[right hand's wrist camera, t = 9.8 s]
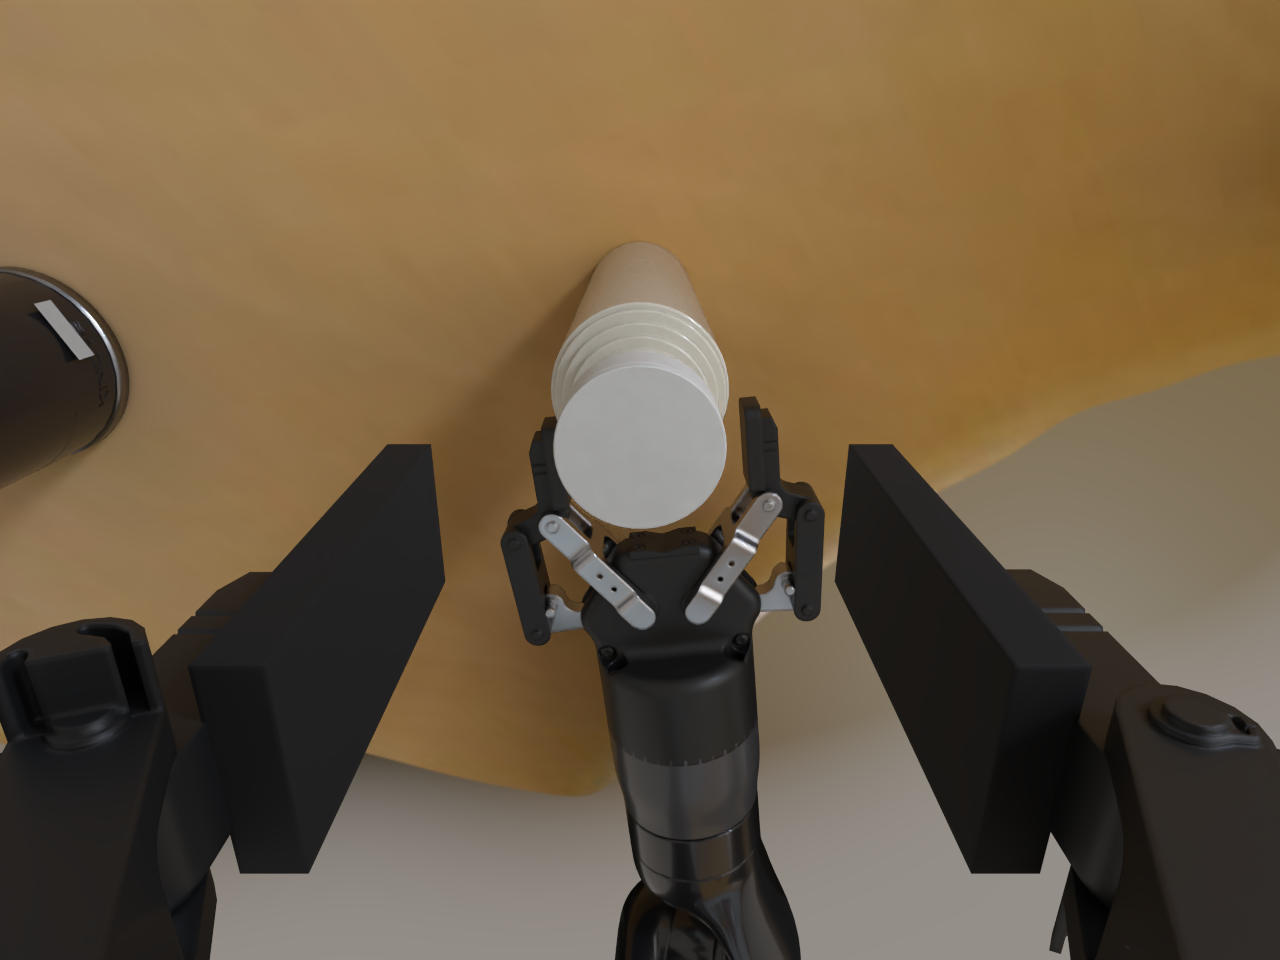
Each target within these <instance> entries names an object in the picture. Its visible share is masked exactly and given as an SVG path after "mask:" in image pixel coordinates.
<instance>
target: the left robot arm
mask: <svg viewBox="0 0 1280 960" xmlns="http://www.w3.org/2000/svg"><path fill="white" fill-rule="evenodd" d="M128 394H129V376H128V369H127V364H126V360H125V357H124V354H123V351H122V349H121V347H120V344H119V342H118V340H117V338H116V336H115V335H114V333H113V331H112V330H111V328H110V326H109V325H108V324H107V322H106V321H105V320H104V318H103V317H102V316H101V315H100V314H99V312H98V311H97V310H96V309H95V308H94V307H93V306H92V305H91V304H90V303H89V302H88V301H87V300H85V299H84V298H83V297H82V296H81V295H79V294H78V293H77V292H75V291H74V290H72V289H71V288H69V287H68V286H66V285H65V284H63V283H61V282H59V281H57V280H55V279H53V278H51V277H49V276H47V275H44V274H42V273H39V272H35V271H32V270H28V269H24V268H17V267H3V266H2V267H0V489H2V488H4V487H6V486H8V485H10V484H12V483H14V482H16V481H18V480H20V479H22V478H24V477H26V476H28V475H30V474H32V473H34V472H36V471H38V470H40V469H42V468H44V467H46V466H48V465H50V464H52V463H54V462H56V461H58V460H60V459H62V458H64V457H66V456H68V455H71V454H74V453H77V452H80V451H82V450H84V449H86V448H88V447H90V446H92V445H94V444H96V443H98V442H99V441H101V440H102V439H104V438H105V437H106V436H107V435H108V434H110V433H111V432H112V430H113V429H114V428H115V427H116V426H117V424H118V423H119V421H120V419H121V417H122V415H123V413H124V411H125V408H126V405H127V400H128ZM739 413H740V429H741V444H742V460H743V474H744V477H745V480H746V483H747V484H746V485H745V487H744V488H743V489H742V491H741V492H740V494H739V495H738V496H737V498H736V499H735V501H734V502H733V504H732V505H731V506H730V507H727V508H725V509H724V511H723V512H722V513H721V515H720V516H719V518H718V519H717V520H716V522H715V523H714V525H713V526H712V528H711V529H710V530H709V532H708V533H707V534H706V533H704V532H700V531H696V527H685V528H678V529H675V530H672V531H669V532H667V533H663V534H661V533H654V532H647V531H644V532H634V533H630V536H629V538H626V539H624V540H623V541H621V542H620V541H618V540H617V539H616V538H615V537H614V536H613V535H612V534H611V533H610V532H609V531H608V530H607V529H606V528H605V527H604V526H602V525H601V524H600V523H599V522H598V521H595V520H594V521H593V520H591V519H590V518H589V517H588V516H586V515H585V514H584V513H583V512H582V511H581V510H580V509H579V508H578V507H577V506H576V505H575V504H574V503H573V502H572V501H571V496H570V495H569V494H568V492H567V490H566V489H565V487H564V486H563V484H562V482H561V480H560V478H559V475H558V472H557V469H556V466H555V460H554V453H553V441H554V433H555V429H556V425H557V419H556V416H555V417H545V419H544V422H543V424H542V427H541V431H536V433H535V435H534V438H533V440H532V444H531V448H530V452H529V455H530V461H531V466H532V473H533V479H534V485H535V490H536V496H537V502H538V503H537V504H536V505H535V506H533V507H531V508H528V509H526V510H524V509H519V510H515V511H514V512H512V513H511V515H510V517H509V520H508V525H507V528H506V531H505V532H504V534H503V536H502V539H501V548H502V552H503V555H504V559H505V563H506V567H507V571H508V574H509V578H510V582H511V586H512V589H513V593H514V597H515V601H516V605H517V608H518V612H519V616H520V620H521V624H522V627H523V631H524V635H525V638H526V640H527V641H528V642H529V643H531V644H533V645H537V646H540V645H544V644H546V643H547V642H548V641H549V639H550V636H551V633H555V632H561V631H568V630H575V629H582V628H584V629H585V631H586V632H587V633H588V634H589V635H590V636H591V638H592V639H593V641H594V643H595V646H596V649H597V656H598V662H599V669H600V675H601V682H602V688H603V695H604V702H605V708H606V714H607V721H608V727H609V734H610V740H611V747H612V754H613V760H614V765H615V770H616V774H617V777H618V781H619V783H620V786H621V789H622V792H623V796H624V800H625V807H626V813H627V820H628V827H629V834H630V840H631V846H632V852H633V858H634V862H635V866H636V869H637V871H638V873H639V876H640V878H641V881H640V882H639V883H637V885H636V886H635V887H634V888H633V889H632V890H631V892H630V893H629V895H628V897H627V899H626V901H625V903H624V906H623V909H622V912H621V917H620V923H619V928H618V937H617V945H616V955H615V960H801V955H800V945H799V938H798V933H797V929H796V924H795V920H794V917H793V914H792V911H791V908H790V905H789V903H788V900H787V897H786V895H785V893H784V891H783V889H782V886H781V884H780V882H779V880H778V878H777V876H776V874H775V872H774V869H773V867H772V865H771V862H770V860H769V857H768V855H767V852H766V849H765V847H764V845H763V842H762V840H761V835H760V823H759V808H758V793H757V777H758V769H759V733H758V717H757V701H756V687H755V671H754V656H753V641H752V629H753V625H754V622H755V620H756V618H757V617H758V615H759V613H760V612H764V611H788V610H793V611H794V614H795V616H796V617H797V618H798V619H799V620H802V621H811V620H813V619H815V618H816V617H817V616H818V615H819V613H820V608H821V586H822V563H823V540H824V518H825V513H824V510H823V508H822V506H821V504H820V502H819V500H818V498H817V496H816V494H815V493H814V491H813V489H812V487H811V486H810V485H809V484H808V483H805V482H797V483H795V484H794V483H790V482H786V481H783V480H782V479H780V471H779V451H778V428H777V426H776V424H775V422H774V420H773V418H772V416H771V414H770V412H769V411H768V409H767V408H764V409H760V405H759V403H758V401H757V399H756V397H755V396H753V397H744V398H739ZM776 517H781V518H786V519H787V528H786V563H784V562H780V563H778V564H777V565H776V566H775V567H774V568H773V570H772V573H771V577H770V579H769V580H768V581H767V582H766V583H764V584H762V585H757V584H756V582H755V581H754V579H753V578H752V577H751V576H750V575H749V574H748V573H747V572H746V571H745V570H744V568H745V567H746V566H747V564H748V563H749V562H750V560H751V559H752V558H753V556H754V555H755V553H756V551H757V548H758V543H759V541H760V539H761V538H762V537H763V535H764V534H765V533H766V531H767V530H768V528H769V527H770V526H771V524H772V523H773V522H774V520H775V519H776ZM546 539H547V540H548V541H549V542H550V543H551V544H552V545H554V546H555V547H556V548H557V549H558V550H559V551H560V552H561V553H562V554H563V555H565V556H566V557H567V558H568V559H569V561H570V562H571V565H572V567H573V569H574V570H575V571H576V572H577V573H578V574H579V575H580V576H581V577H582V578H583V579H584V580H585V581H586V582H588V583H589V584H590V587H589V589H588V590H587V592H586V593H585V595H584V597H583V600H582V602H575V601H572V600H570V599H569V598H568V597H567V595H566V593H565V591H564V589H563V588H561V587H560V586H559V585H557V584H553V585H550V581H549V577H548V573H547V569H546V565H545V561H544V557H543V553H542V549H541V544H540V542H541V541H543V540H546Z"/></svg>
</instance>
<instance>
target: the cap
mask: <svg viewBox="0 0 1280 960" xmlns="http://www.w3.org/2000/svg"><path fill="white" fill-rule="evenodd" d="M726 450H727V443H726V434H725V429H724V425H723V422H722V419H721V416H720V413H719V409H718V406H717V404H716V401H715V398H714V396H713V394H712V393H711V391H710V389H709V387H708V386H707V385H706V383H705V382H704V381H703V379H702V378H701V377H700V376H699V375H698V374H697V373H696V372H695V371H693V370H692V369H691V368H690V367H688V366H687V365H685V364H684V363H682V362H680V361H679V360H677V359H674V358H672V357H670V356H667V355H663V354H660V353H655V352H648V351H632V352H624V353H620V354H616V355H613V356H610V357H608V358H605V359H603V360H601V361H600V362H598V363H596V364H594V365H593V366H592V367H590V368H589V369H588V370H586V371H585V372H584V373H583V374H582V375H581V376H580V377H579V378H578V379H577V381H576V382H575V383H574V384H573V386H572V387H571V389H570V391H569V392H568V394H567V396H566V398H565V401H564V403H563V406H562V409H561V412H560V415H559V418H558V421H557V425H556V429H555V433H554V441H553V453H554V460H555V466H556V469H557V472H558V475H559V478H560V480H561V482H562V484H563V486H564V487H565V489H566V490H567V492H568V494H569V495H570V496H571V497H572V498H573V500H574V501H575V502H576V503H577V504H578V505H579V506H580V507H582V508H583V509H584V510H585V511H587V512H588V513H589V514H591V515H592V516H594V517H596V518H598V519H600V520H602V521H604V522H607V523H609V524H612V525H615V526H619V527H624V528H631V529H648V528H656V527H661V526H665V525H668V524H671V523H673V522H676V521H678V520H680V519H682V518H684V517H686V516H687V515H689V514H690V513H692V512H693V511H695V510H696V509H697V508H698V507H699V506H701V505H702V504H703V503H704V502H705V501H706V499H707V498H708V497H709V496H710V495H711V493H712V492H713V490H714V489H715V487H716V485H717V484H718V482H719V480H720V478H721V475H722V472H723V469H724V465H725V460H726Z"/></svg>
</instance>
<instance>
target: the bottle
mask: <svg viewBox="0 0 1280 960" xmlns="http://www.w3.org/2000/svg"><path fill="white" fill-rule="evenodd" d="M632 351H648V352H655V353H660V354H663V355H667V356H670V357H672V358H674V359H677V360H679V361H680V362H682V363H684V364H685V365H687V366H688V367H690V368H691V369H692V370H693V371H695V372H696V373H697V374H698V375H699V376H700V377H701V378H702V379H703V381H704V382H705V383H706V385H707V386H708V387H709V389H710V391H711V393H712V394H713V396H714V398H715V401H716V404H717V406H718V409H719V413H720V416H721V419H722V421H723V418H724V415H725V413H726V409H727V404H728V399H729V380H728V373H727V368H726V364H725V361H724V359H723V356H722V353H721V351H720V349H719V346H718V344H717V342H716V340H715V337H714V335H713V333H712V330H711V328H710V326H709V323H708V321H707V319H706V316H705V314H704V312H703V309H702V307H701V305H700V302H699V300H698V298H697V296H696V293H695V291H694V289H693V286H692V284H691V282H690V279H689V277H688V275H687V272H686V270H685V269H684V267H683V265H682V264H681V262H680V261H679V260H678V259H677V258H676V257H675V255H673V254H672V253H671V252H670V251H668V250H666V249H665V248H663V247H661V246H659V245H656V244H653V243H648V242H632V243H628V244H624V245H621V246H619V247H617V248H615V249H613V250H612V251H610V252H609V253H608V254H607V255H606V256H605V257H604V258H603V259H602V260H601V261H600V262H599V264H598V265H597V267H596V268H595V270H594V272H593V275H592V277H591V279H590V282H589V284H588V286H587V289H586V291H585V293H584V295H583V298H582V300H581V302H580V305H579V307H578V309H577V312H576V314H575V316H574V319H573V321H572V323H571V326H570V328H569V330H568V332H567V335H566V337H565V339H564V342H563V344H562V346H561V349H560V351H559V353H558V356H557V358H556V361H555V364H554V368H553V372H552V379H551V399H552V405H553V409H554V413H555V416H556V419H557V421H558V418H559V415H560V412H561V409H562V406H563V403H564V401H565V398H566V396H567V394H568V392H569V391H570V389H571V387H572V386H573V384H574V383H575V382H576V381H577V379H578V378H579V377H580V376H581V375H582V374H583V373H584V372H585V371H586V370H588V369H589V368H590V367H592V366H593V365H594V364H596V363H598V362H600V361H601V360H603V359H605V358H608V357H610V356H613V355H616V354H620V353H624V352H632Z"/></svg>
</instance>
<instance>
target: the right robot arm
mask: <svg viewBox="0 0 1280 960" xmlns="http://www.w3.org/2000/svg"><path fill="white" fill-rule="evenodd" d="M444 583H445V575H444V565H443V556H442V546H441V537H440V527H439V518H438V508H437V499H436V489H435V479H434V470H433V460H432V451H431V444H387V446H386V447H385V448H384V449H383V450H382V451H381V452H380V453H379V454H378V456H377V457H376V458H375V459H374V460H373V461H372V462H371V463H370V464H369V466H368V467H367V468H366V469H365V470H364V471H363V472H362V473H361V474H360V475H359V477H358V478H357V479H356V480H355V481H354V482H353V483H352V484H351V485H350V487H349V488H348V489H347V490H346V491H345V492H344V493H343V494H342V495H341V497H340V498H339V499H338V500H337V501H336V502H335V503H334V504H333V505H332V506H331V508H330V509H329V510H328V511H327V512H326V513H325V514H324V515H323V516H322V518H321V519H320V520H319V521H318V522H317V523H316V524H315V525H314V526H313V528H312V529H311V530H310V531H309V532H308V533H307V534H306V535H305V536H304V538H303V539H302V540H301V541H300V542H299V543H298V544H297V545H296V546H295V547H294V549H293V550H292V551H291V552H290V553H289V554H288V555H287V556H286V557H285V559H284V560H283V561H282V562H281V563H280V564H279V565H278V566H277V567H276V569H275V570H274V571H273V572H249V573H247V574H246V575H244V576H242V577H240V578H238V579H237V580H235V581H233V582H231V583H230V584H228V585H226V586H224V587H222V588H221V589H219V590H217V591H216V592H215V593H214V594H213V595H212V596H211V597H210V598H209V599H208V600H207V601H206V602H205V603H204V604H203V605H202V606H201V607H200V608H199V609H198V610H197V611H196V616H191V617H190V618H189V619H188V620H187V621H186V622H185V623H184V624H183V625H182V626H181V627H180V628H179V629H178V634H173V635H172V636H171V637H170V638H169V639H168V640H167V641H166V642H165V643H164V644H163V645H162V646H161V647H160V648H159V649H158V650H157V651H156V652H155V653H154V654H153V655H152V654H151V650H150V647H149V643H148V639H147V636H146V632H145V628H144V627H142V626H141V625H139V624H137V623H136V622H134V621H133V620H128V619H121V618H113V617H107V618H95V619H84V620H79V621H75V622H71V623H67V624H63V625H58V626H54V627H51V628H48V629H46V630H43V631H41V632H38V633H36V634H33V635H31V636H28V637H25V638H23V639H21V640H19V641H18V642H16V643H14V644H12V645H11V646H9V647H7V648H6V649H4V650H2V651H1V652H0V722H1V725H2V728H3V731H4V733H5V736H6V739H7V741H8V743H7V745H6V747H5V748H4V750H3V752H2V753H0V960H210V952H211V944H212V936H213V928H214V919H215V911H216V903H217V898H216V892H215V886H214V881H213V878H212V874H211V870H210V866H211V865H212V863H213V861H214V860H215V858H216V857H217V855H218V853H219V852H220V850H221V848H222V847H223V845H224V843H225V842H226V840H227V839H228V837H229V835H230V836H231V840H232V844H233V848H234V851H235V855H236V859H237V863H238V867H239V871H240V873H241V874H244V873H245V874H248V873H249V874H252V873H254V874H260V873H263V874H265V873H266V874H270V873H271V874H273V873H275V874H282V873H283V874H284V873H285V874H287V873H288V874H289V873H290V874H292V873H294V874H295V873H298V874H299V873H300V874H301V873H302V874H308V873H309V872H310V870H311V867H312V865H313V863H314V861H315V859H316V857H317V855H318V852H319V850H320V848H321V846H322V844H323V842H324V840H325V837H326V835H327V833H328V831H329V829H330V827H331V825H332V822H333V820H334V818H335V816H336V814H337V812H338V810H339V807H340V805H341V803H342V801H343V799H344V797H345V795H346V793H347V790H348V788H349V786H350V784H351V782H352V780H353V778H354V775H355V773H356V771H357V769H358V767H359V765H360V763H361V760H362V758H363V756H364V754H365V752H366V750H367V748H368V746H369V743H370V741H371V739H372V737H373V735H374V733H375V731H376V728H377V726H378V724H379V722H380V720H381V718H382V716H383V713H384V711H385V709H386V707H387V705H388V703H389V701H390V698H391V696H392V694H393V692H394V690H395V688H396V686H397V683H398V681H399V679H400V677H401V675H402V673H403V671H404V668H405V666H406V664H407V662H408V660H409V658H410V656H411V654H412V651H413V649H414V647H415V645H416V643H417V641H418V639H419V636H420V634H421V632H422V630H423V628H424V626H425V624H426V621H427V619H428V617H429V615H430V613H431V611H432V609H433V606H434V604H435V602H436V600H437V598H438V596H439V594H440V591H441V589H442V587H443V585H444ZM835 583H836V585H837V587H838V589H839V591H840V594H841V596H842V598H843V600H844V602H845V604H846V606H847V608H848V611H849V613H850V615H851V617H852V619H853V621H854V624H855V626H856V628H857V630H858V632H859V634H860V636H861V639H862V641H863V643H864V645H865V647H866V649H867V651H868V654H869V656H870V658H871V660H872V662H873V664H874V666H875V669H876V671H877V673H878V675H879V677H880V679H881V681H882V683H883V686H884V688H885V690H886V692H887V694H888V696H889V698H890V701H891V703H892V705H893V707H894V709H895V711H896V713H897V716H898V718H899V720H900V722H901V724H902V726H903V728H904V731H905V733H906V735H907V737H908V739H909V741H910V743H911V745H912V748H913V750H914V752H915V754H916V756H917V758H918V761H919V763H920V765H921V767H922V769H923V771H924V773H925V775H926V778H927V780H928V782H929V784H930V786H931V788H932V790H933V793H934V795H935V797H936V799H937V801H938V803H939V805H940V808H941V810H942V812H943V814H944V816H945V818H946V820H947V823H948V825H949V827H950V829H951V831H952V833H953V835H954V837H955V840H956V842H957V844H958V846H959V848H960V850H961V852H962V855H963V857H964V859H965V861H966V863H967V865H968V867H969V869H970V872H971V873H972V874H973V873H974V874H978V873H980V874H985V873H986V874H987V873H988V874H991V873H992V874H995V873H996V874H1000V873H1001V874H1003V873H1004V874H1006V873H1008V874H1009V873H1010V874H1017V873H1018V874H1021V873H1022V874H1024V873H1025V874H1028V873H1029V874H1037V873H1038V874H1039V873H1040V871H1041V867H1042V863H1043V859H1044V855H1045V851H1046V847H1047V844H1048V839H1049V836H1050V832H1051V833H1052V834H1053V836H1054V838H1055V839H1056V841H1057V843H1058V844H1059V846H1060V847H1061V849H1062V851H1063V852H1064V854H1065V856H1066V857H1067V859H1068V860H1069V862H1070V864H1071V866H1070V870H1069V874H1068V877H1067V881H1066V885H1065V889H1064V892H1063V896H1062V899H1061V903H1060V907H1059V911H1058V914H1057V918H1056V921H1055V925H1054V929H1053V932H1052V938H1051V943H1050V949H1049V950H1050V951H1053V952H1056V953H1059V954H1061V951H1062V948H1063V944H1064V940H1065V937H1066V936H1068V942H1069V950H1070V958H1071V960H1280V750H1279V749H1276V747H1275V745H1274V743H1273V741H1272V740H1271V739H1270V738H1269V736H1268V735H1267V734H1266V733H1265V731H1264V730H1263V729H1262V728H1261V727H1260V725H1259V724H1258V723H1256V722H1255V721H1253V720H1252V719H1251V718H1249V717H1248V716H1246V715H1245V714H1243V713H1242V712H1241V711H1239V710H1238V709H1236V708H1235V707H1233V706H1231V705H1228V704H1226V703H1224V702H1222V701H1220V700H1218V699H1215V698H1213V697H1211V696H1209V695H1207V694H1203V693H1200V692H1196V691H1192V690H1189V689H1185V688H1182V687H1178V686H1171V685H1161V684H1159V683H1158V682H1157V681H1156V680H1155V679H1154V678H1153V677H1152V676H1151V675H1150V674H1149V673H1148V672H1147V671H1146V670H1145V669H1144V668H1143V667H1142V666H1141V665H1140V664H1139V663H1138V662H1137V661H1136V660H1135V659H1134V658H1133V657H1132V656H1131V655H1130V654H1129V653H1128V652H1127V651H1126V650H1125V649H1124V648H1123V647H1122V646H1121V645H1120V644H1119V643H1118V642H1117V641H1116V640H1115V639H1114V638H1113V637H1112V636H1111V635H1110V634H1109V633H1108V632H1103V627H1102V626H1101V625H1100V624H1099V623H1098V622H1097V621H1096V620H1095V619H1094V618H1093V617H1092V616H1091V615H1090V614H1089V613H1085V609H1084V608H1083V607H1082V606H1081V605H1080V604H1079V603H1078V602H1077V601H1076V600H1075V599H1074V598H1073V597H1072V596H1071V595H1070V594H1069V593H1068V592H1067V591H1066V590H1065V589H1064V588H1063V587H1061V586H1059V585H1058V584H1056V583H1054V582H1052V581H1050V580H1049V579H1047V578H1045V577H1043V576H1041V575H1040V574H1038V573H1036V572H1034V571H1032V570H1005V569H1004V567H1003V566H1002V565H1001V564H1000V563H999V562H998V561H997V560H996V559H995V557H994V556H993V555H992V554H991V553H990V552H989V551H988V550H987V549H986V547H985V546H984V545H983V544H982V543H981V542H980V541H979V540H978V539H977V538H976V536H975V535H974V534H973V533H972V532H971V531H970V530H969V529H968V528H967V526H966V525H965V524H964V523H963V522H962V521H961V520H960V519H959V518H958V516H957V515H956V514H955V513H954V512H953V511H952V510H951V509H950V508H949V507H948V505H947V504H946V503H945V502H944V501H943V500H942V499H941V498H940V497H939V495H938V494H937V493H936V492H935V491H934V490H933V489H932V488H931V487H930V485H929V484H928V483H927V482H926V481H925V480H924V479H923V478H922V477H921V475H920V474H919V473H918V472H917V471H916V470H915V469H914V468H913V467H912V466H911V464H910V463H909V462H908V461H907V460H906V459H905V458H904V457H903V456H902V454H901V453H900V452H899V451H898V450H897V449H896V448H895V447H894V446H893V444H849V451H848V460H847V470H846V479H845V489H844V498H843V508H842V518H841V527H840V537H839V546H838V556H837V565H836V575H835Z"/></svg>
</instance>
